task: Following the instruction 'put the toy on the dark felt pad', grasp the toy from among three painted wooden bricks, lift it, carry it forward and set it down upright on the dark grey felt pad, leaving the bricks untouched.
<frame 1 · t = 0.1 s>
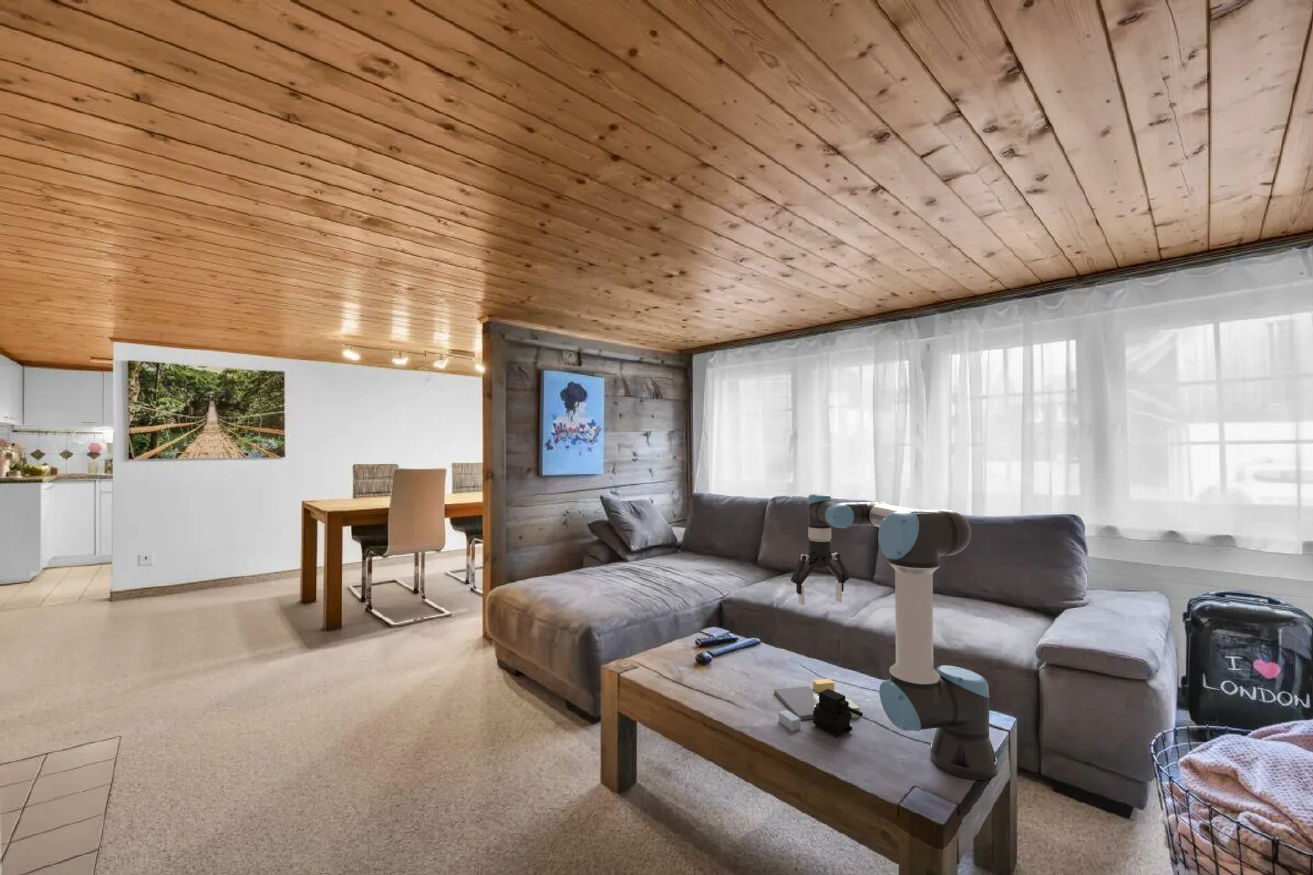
hand: (820, 602, 187), 28 cm above the table, fingers open, 13 cm apart
mustard brick: (823, 690, 183), on the table
toy: (839, 733, 156), on the table
felt pad: (804, 703, 173), on the table
sage brick: (849, 713, 168), on the table
dusty blue brick: (789, 725, 161), on the table
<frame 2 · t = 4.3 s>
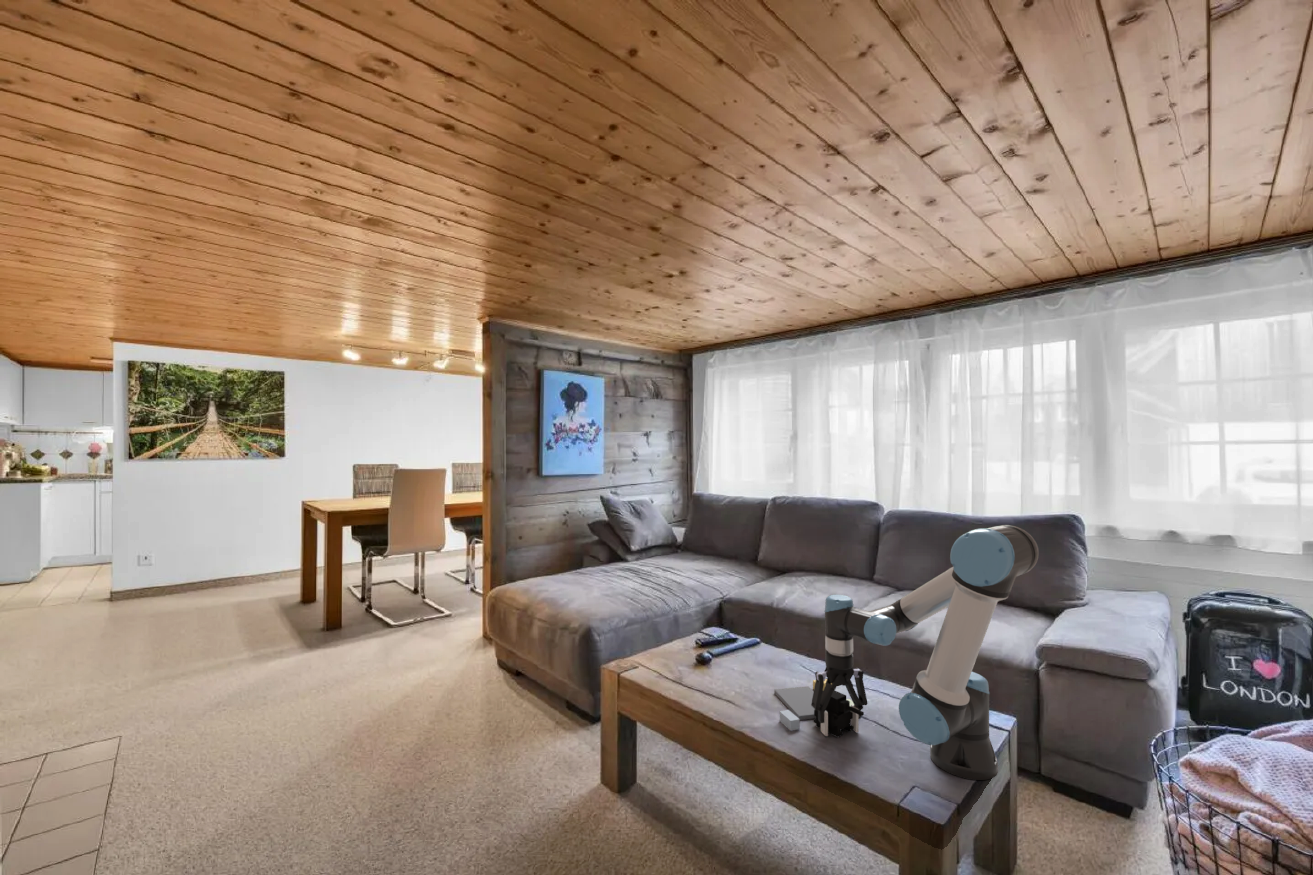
hand: (839, 731, 156), 0 cm above the table, fingers closed on toy, 9 cm apart
toy: (840, 732, 156), on the table, touching gripper
everything else where it was.
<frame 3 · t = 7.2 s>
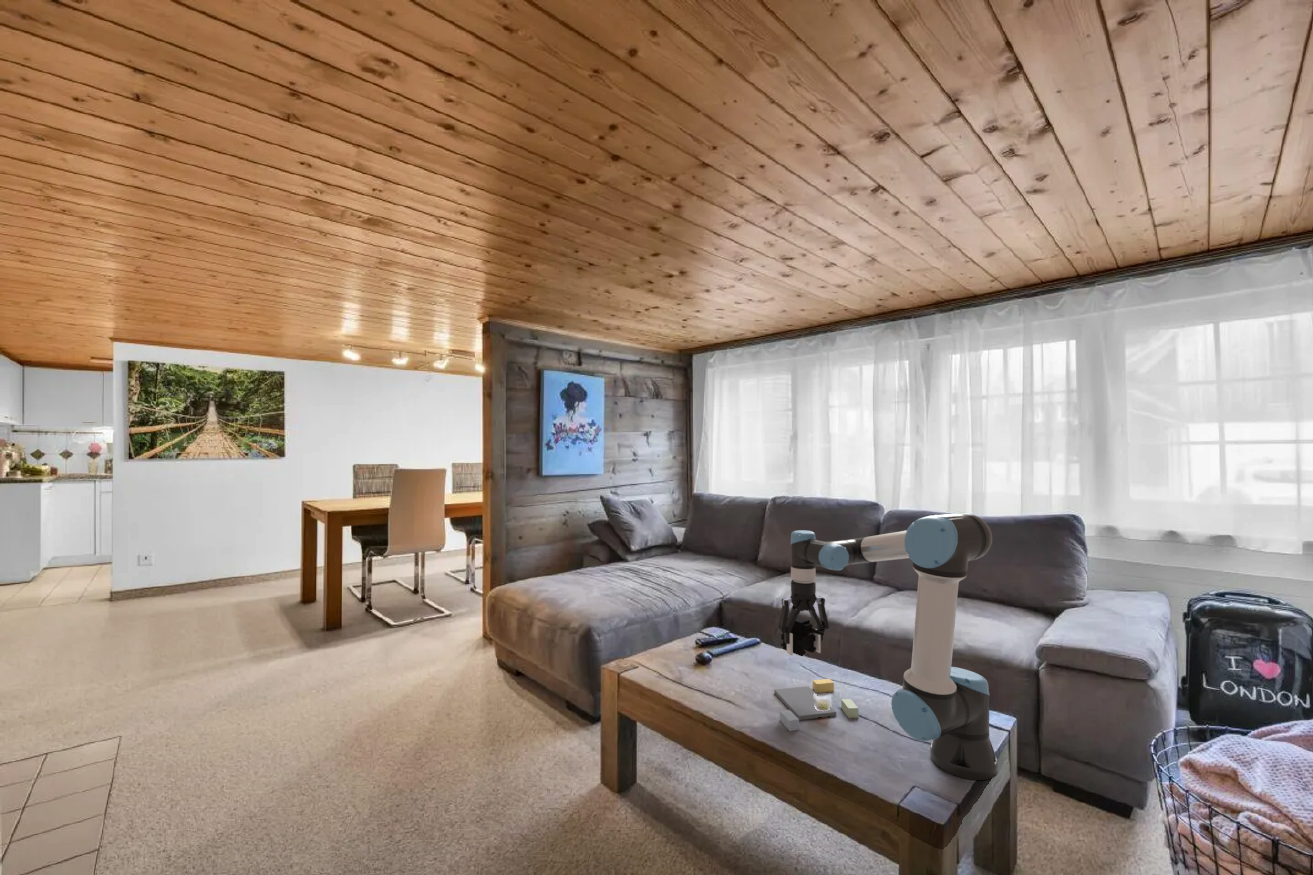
hand: (803, 652, 174), 16 cm above the table, fingers closed on toy, 9 cm apart
toy: (804, 653, 174), point 16 cm above the table, touching gripper
everything else where it was.
when the fingers open (3 cm above the table, at t = 10.4 s): toy drops 1 cm, resting on felt pad.
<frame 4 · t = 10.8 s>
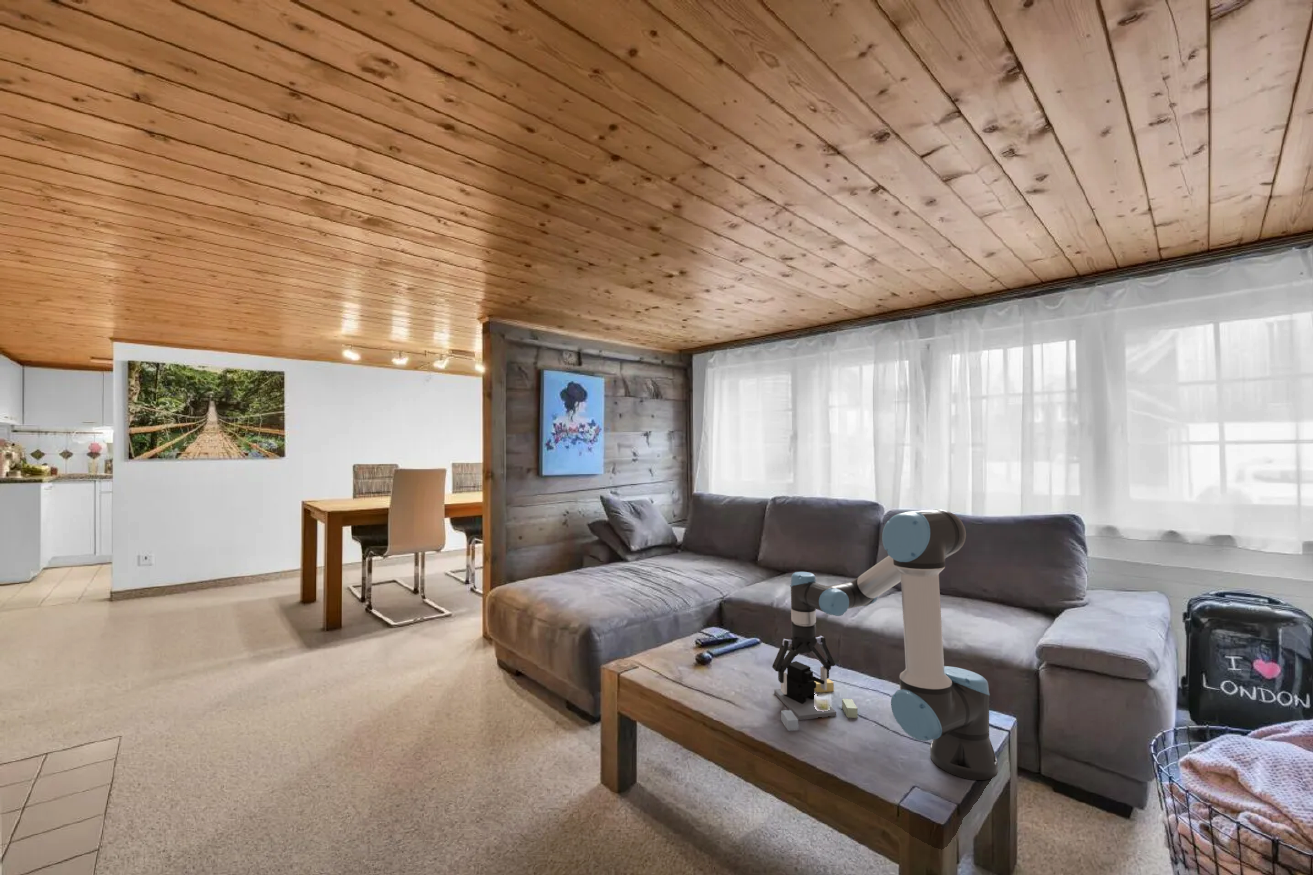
hand: (803, 690, 173), 4 cm above the table, fingers open, 13 cm apart
toy: (805, 700, 173), point 1 cm above the table, touching felt pad
everything else where it was.
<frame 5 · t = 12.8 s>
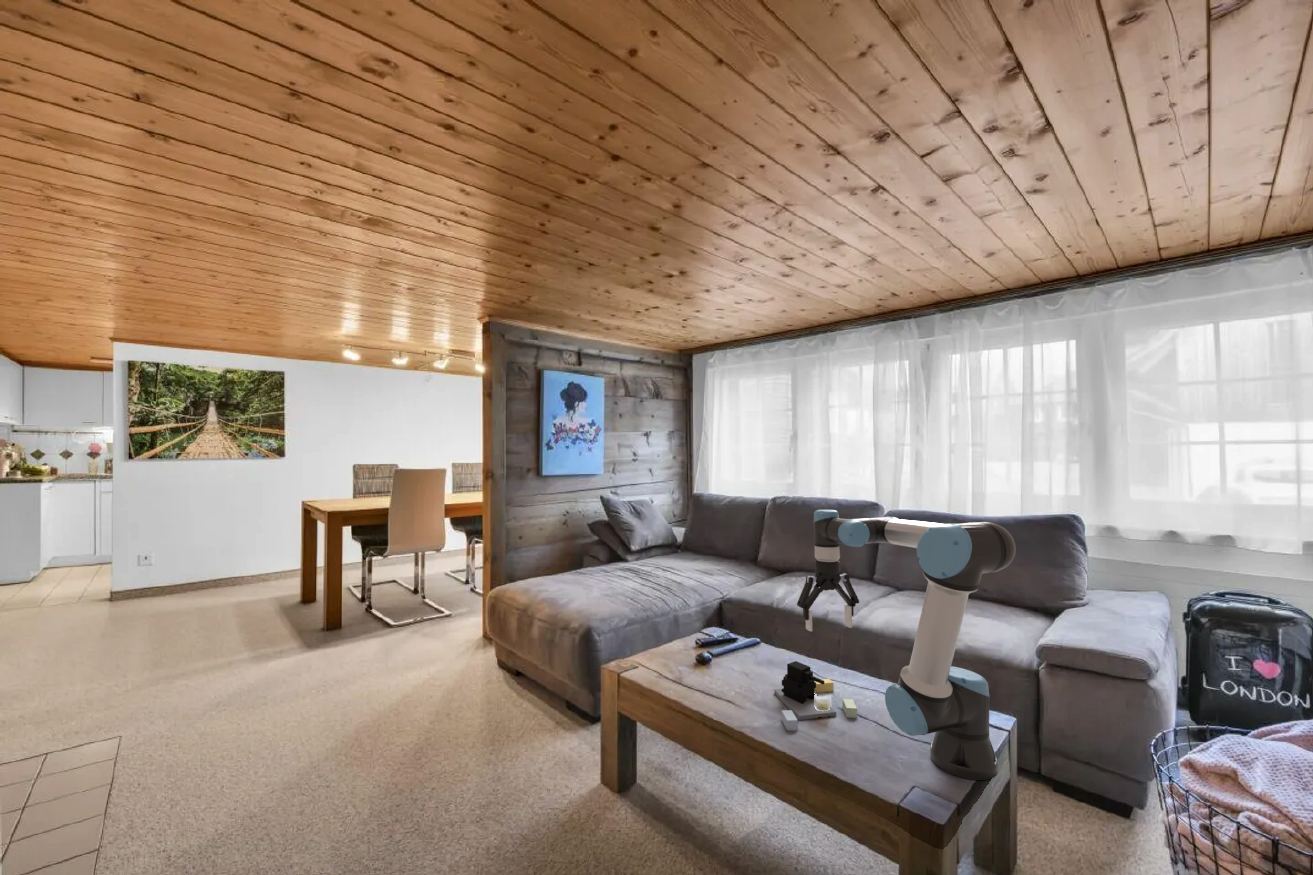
hand: (828, 628, 172), 24 cm above the table, fingers open, 13 cm apart
nothing on the table moved.
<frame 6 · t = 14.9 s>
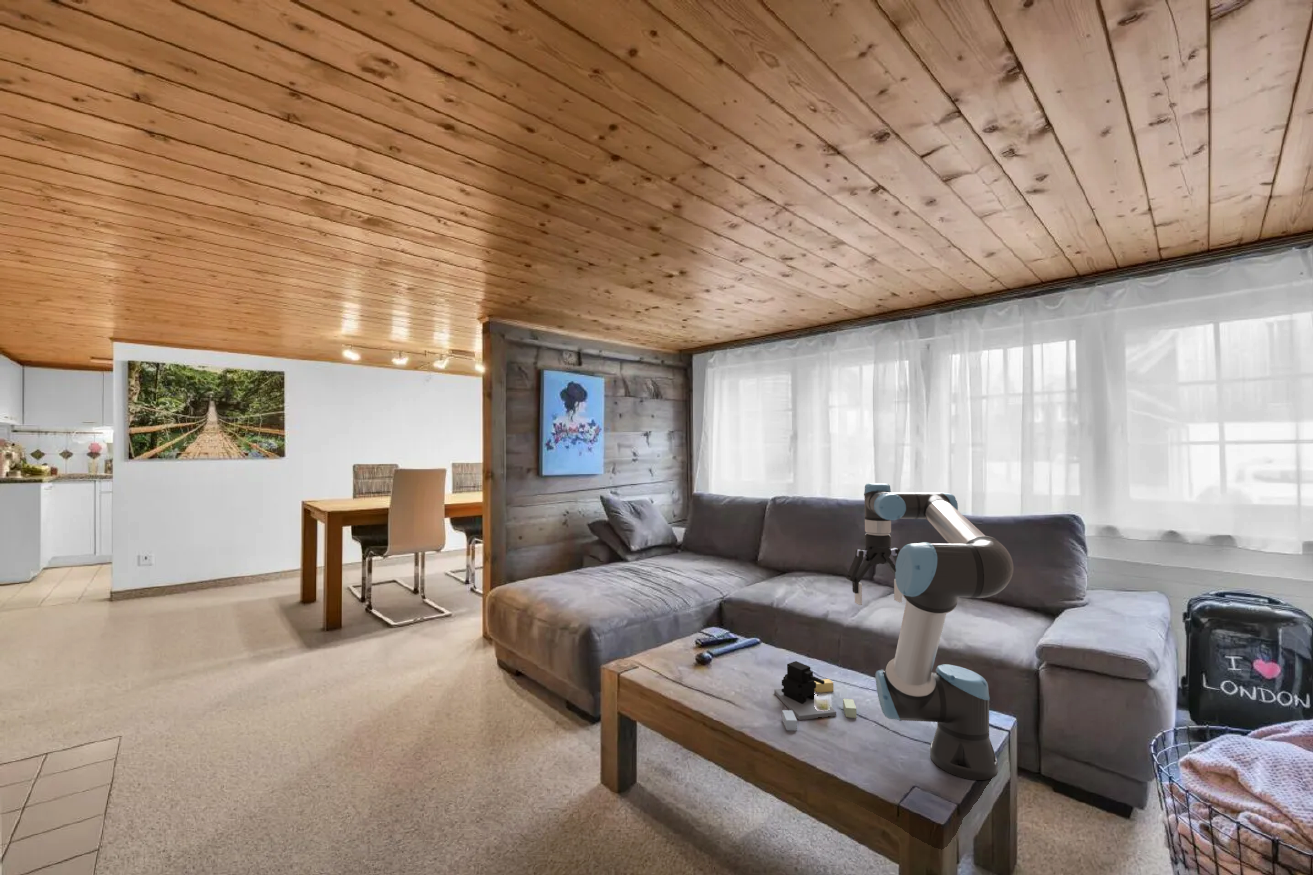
hand: (878, 602, 170), 33 cm above the table, fingers open, 13 cm apart
nothing on the table moved.
at the end: toy inside the target area on the felt pad (0.4 cm from its centre), point 1.0 cm above the felt pad's base; toy tilted 0°; sage brick moved 0.2 cm from its start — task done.
